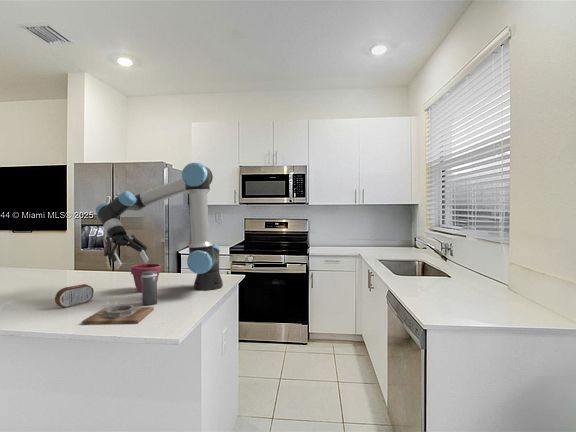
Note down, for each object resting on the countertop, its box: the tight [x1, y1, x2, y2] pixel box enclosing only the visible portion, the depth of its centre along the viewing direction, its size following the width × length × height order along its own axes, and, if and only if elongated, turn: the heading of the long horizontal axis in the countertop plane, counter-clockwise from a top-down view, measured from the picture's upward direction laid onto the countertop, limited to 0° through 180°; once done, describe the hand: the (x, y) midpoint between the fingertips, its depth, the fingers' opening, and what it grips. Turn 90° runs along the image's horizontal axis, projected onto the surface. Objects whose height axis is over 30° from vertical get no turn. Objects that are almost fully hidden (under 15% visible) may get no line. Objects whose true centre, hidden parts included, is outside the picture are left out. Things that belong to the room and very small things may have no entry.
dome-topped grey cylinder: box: [141, 271, 158, 307], centre depth 143 cm, size 6×6×14 cm
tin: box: [54, 283, 95, 308], centre depth 141 cm, size 15×3×8 cm, turn 151°
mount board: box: [81, 304, 155, 325], centre depth 126 cm, size 20×16×3 cm
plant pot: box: [130, 263, 162, 293], centre depth 167 cm, size 14×14×13 cm
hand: (134, 264), depth 148 cm, fingers open, 13 cm apart
